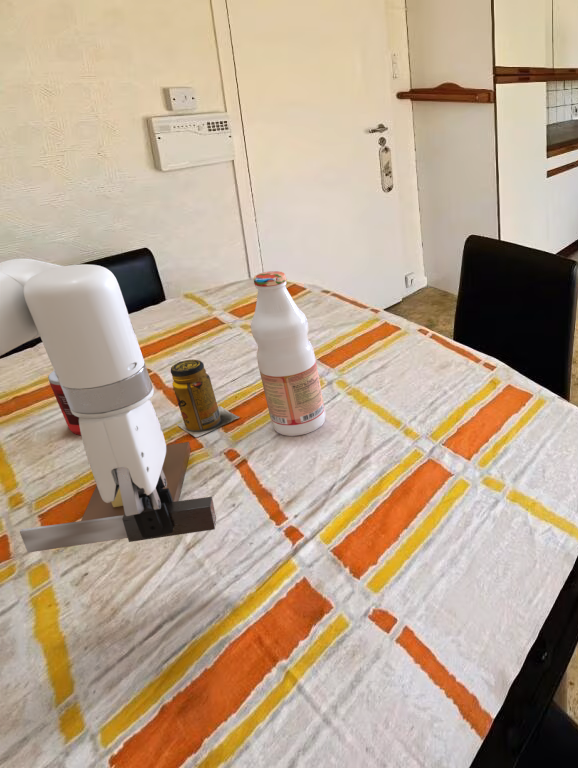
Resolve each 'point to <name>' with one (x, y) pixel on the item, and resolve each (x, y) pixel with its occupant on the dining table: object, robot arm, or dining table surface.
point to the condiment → (197, 399)
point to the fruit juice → (286, 358)
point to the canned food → (64, 404)
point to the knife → (120, 527)
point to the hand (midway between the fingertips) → (160, 525)
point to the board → (174, 477)
